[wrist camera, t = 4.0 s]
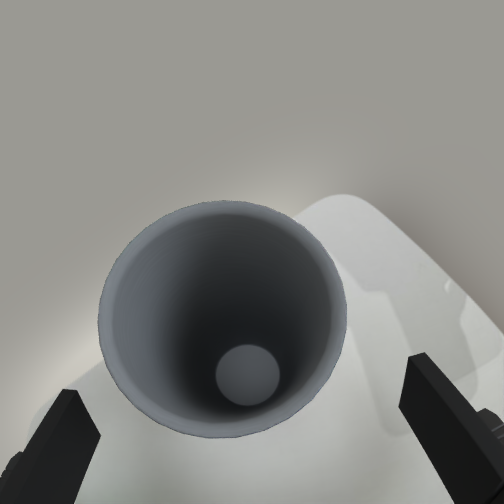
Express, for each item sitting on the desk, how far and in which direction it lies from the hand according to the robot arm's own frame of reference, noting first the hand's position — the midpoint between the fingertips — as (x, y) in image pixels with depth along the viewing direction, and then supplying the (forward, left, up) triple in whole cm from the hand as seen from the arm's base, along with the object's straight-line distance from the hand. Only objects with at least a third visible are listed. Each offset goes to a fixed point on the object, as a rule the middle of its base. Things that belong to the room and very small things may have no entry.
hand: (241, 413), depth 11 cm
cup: (-1, +2, -11) cm, 11 cm away
